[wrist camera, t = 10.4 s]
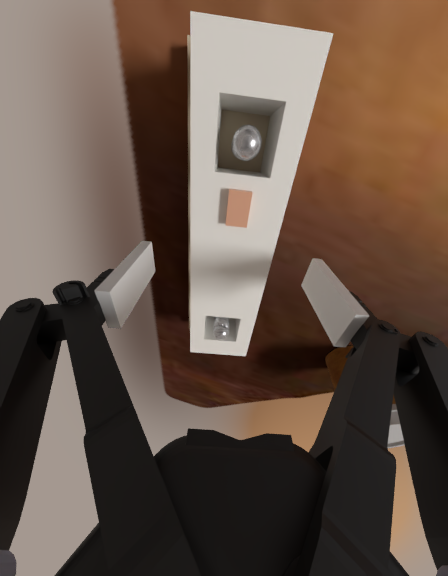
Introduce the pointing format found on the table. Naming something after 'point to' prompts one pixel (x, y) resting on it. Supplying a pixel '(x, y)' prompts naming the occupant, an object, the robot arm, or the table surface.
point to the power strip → (237, 183)
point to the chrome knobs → (244, 149)
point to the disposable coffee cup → (335, 368)
